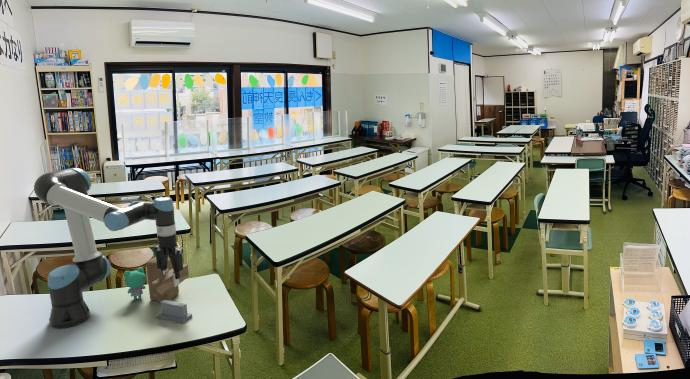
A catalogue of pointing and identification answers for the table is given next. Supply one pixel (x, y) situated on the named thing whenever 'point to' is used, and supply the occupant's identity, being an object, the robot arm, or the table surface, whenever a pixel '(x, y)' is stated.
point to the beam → (168, 282)
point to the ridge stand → (174, 311)
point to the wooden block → (154, 275)
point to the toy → (135, 282)
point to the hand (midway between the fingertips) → (171, 284)
